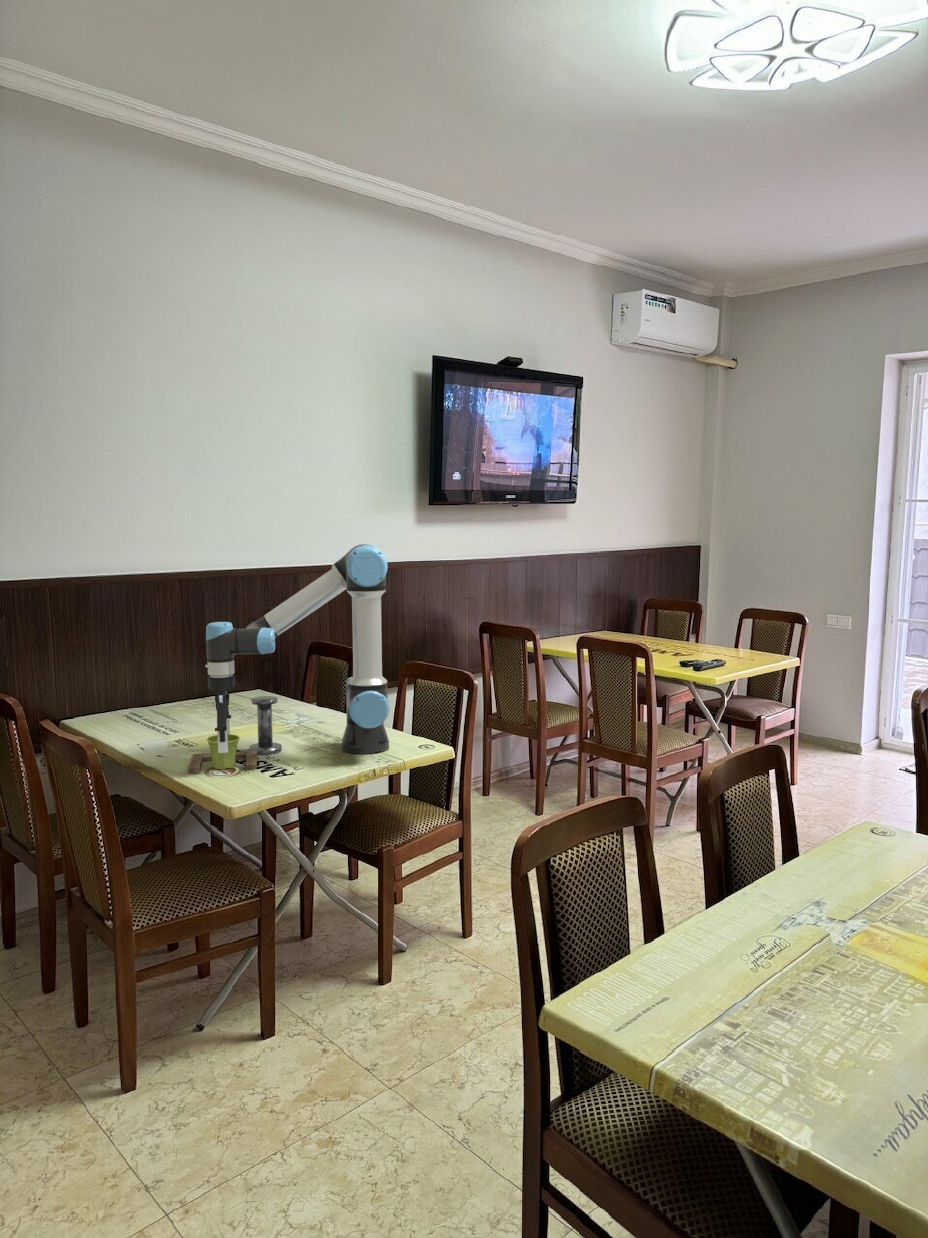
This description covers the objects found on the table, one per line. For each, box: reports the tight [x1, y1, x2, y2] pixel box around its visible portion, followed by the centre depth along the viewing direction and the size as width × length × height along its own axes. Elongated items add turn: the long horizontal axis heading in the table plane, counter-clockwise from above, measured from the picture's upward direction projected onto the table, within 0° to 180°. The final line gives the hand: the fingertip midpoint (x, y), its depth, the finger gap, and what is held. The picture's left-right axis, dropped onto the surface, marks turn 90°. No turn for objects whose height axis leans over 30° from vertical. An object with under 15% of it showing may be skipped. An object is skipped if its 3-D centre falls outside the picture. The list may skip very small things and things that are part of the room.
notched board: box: [187, 750, 258, 774], centre depth 263 cm, size 19×16×2 cm
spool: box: [248, 695, 283, 756], centre depth 278 cm, size 10×10×17 cm
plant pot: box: [206, 733, 241, 770], centre depth 260 cm, size 9×9×9 cm
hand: (224, 746), depth 261 cm, fingers open, 13 cm apart
